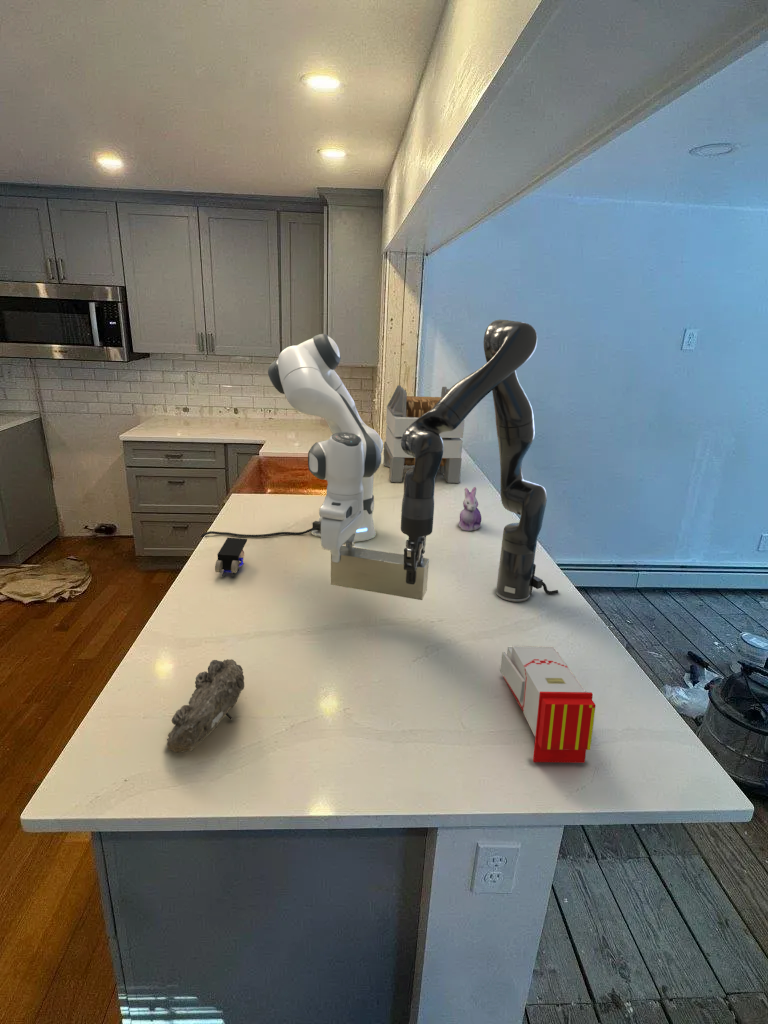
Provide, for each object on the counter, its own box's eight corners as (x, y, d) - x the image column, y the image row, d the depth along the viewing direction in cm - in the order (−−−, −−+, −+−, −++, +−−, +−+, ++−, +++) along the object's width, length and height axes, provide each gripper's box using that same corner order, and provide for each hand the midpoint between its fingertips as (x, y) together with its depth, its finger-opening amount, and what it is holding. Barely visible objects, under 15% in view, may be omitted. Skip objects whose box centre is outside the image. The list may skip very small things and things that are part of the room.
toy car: (238, 584, 162) (249, 557, 175) (236, 562, 158) (247, 536, 172) (215, 584, 161) (227, 556, 175) (212, 561, 158) (225, 535, 171)
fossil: (192, 660, 117) (244, 628, 112) (224, 691, 120) (276, 661, 115) (142, 746, 98) (202, 712, 93) (182, 779, 101) (242, 748, 96)
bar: (330, 584, 142) (330, 553, 139) (338, 575, 147) (338, 544, 144) (422, 600, 136) (424, 567, 133) (426, 590, 141) (429, 558, 138)
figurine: (467, 533, 203) (471, 493, 198) (451, 523, 211) (454, 485, 206) (488, 529, 207) (492, 490, 202) (471, 520, 215) (475, 482, 210)
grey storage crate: (382, 463, 289) (386, 382, 275) (445, 464, 293) (451, 384, 279) (390, 482, 257) (394, 392, 243) (460, 483, 261) (468, 394, 247)
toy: (549, 628, 125) (605, 700, 96) (544, 683, 128) (596, 770, 99) (495, 627, 125) (534, 699, 95) (491, 683, 128) (527, 769, 98)
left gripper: (347, 487, 147) (345, 537, 151) (316, 512, 128) (315, 567, 133) (370, 491, 145) (368, 541, 150) (342, 516, 126) (340, 572, 131)
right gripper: (426, 525, 125) (422, 593, 131) (439, 505, 138) (434, 568, 144) (394, 521, 127) (390, 588, 132) (409, 501, 140) (405, 563, 146)
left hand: (343, 553), depth 141 cm, fingers open, 8 cm apart
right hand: (413, 577), depth 138 cm, fingers closed on bar, 5 cm apart
